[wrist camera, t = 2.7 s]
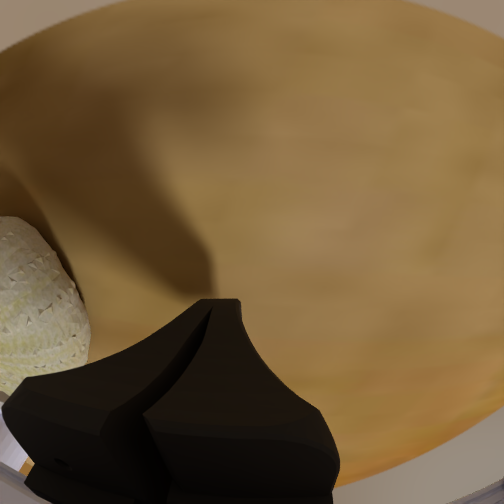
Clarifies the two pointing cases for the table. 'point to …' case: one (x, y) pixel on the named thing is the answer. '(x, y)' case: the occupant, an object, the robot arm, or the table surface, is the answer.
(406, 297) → the table surface
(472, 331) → the table surface
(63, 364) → the sea urchin shell
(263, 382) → the robot arm
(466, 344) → the table surface
